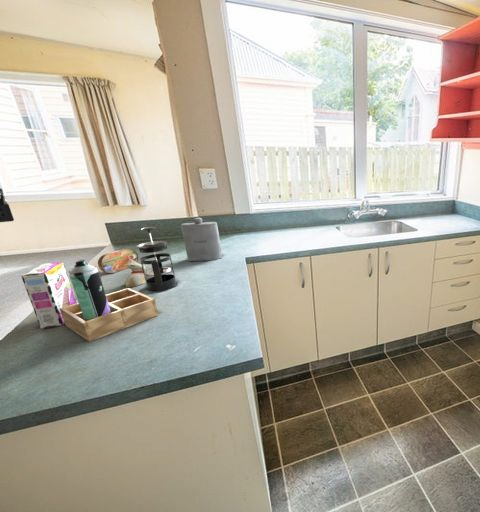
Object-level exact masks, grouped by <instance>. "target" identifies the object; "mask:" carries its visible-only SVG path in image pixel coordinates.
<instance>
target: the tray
mask: <svg viewBox="0 0 480 512" xmlns="http://www.w3.org/2000/svg"><path fill="white" fill-rule="evenodd" d="M106 297H107V301H108V304H109V307H110V310H111V313H109V314H106V315H103V316H100V317H97V318H94V319H91V320H88V321H85V319H84V316H83V313H82V311H81V308H80V305H79V302H76V304H73V305H70V306H66V307H64V308H60V311H61V314H62V317H63V319H64V322H65V323H64V324H65V326H66V327H67V328H68V329H70V330H72V331H73V332H75V334H77V335H79V336H80V337H82V338H83V339H84V340H86V341H87V342H89V343H90V342H94V341H96V340H99V339H101V338H103V337H107V336H109V335H112V334H114V333H116V332H119V331H122V330H124V329H126V328H129V327H132V326H135V325H137V324H139V323H143V322H145V321H147V320H150V319H152V318H156V317H158V316H159V310H158V307H157V304H156V300H155V299H156V298H153V297H152V296H148V295H146V294H144V293H142V292H140V291H137V290H135V289H132V288H131V287H130V288H127V287H126V288H123V289H120V290H117V291H113V292H110V293H107V294H106Z"/></svg>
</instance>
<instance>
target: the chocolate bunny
mask: <svg viewBox="0 0 480 512" xmlns="http://www.w3.org/2000/svg"><path fill="white" fill-rule="evenodd" d="M127 267H128V268H127V269H130V270H131V272H130V275H128V276H127V277H126V280H125V287H126V289H127V288H130V289H131V288H134V287H138V286H141V285H144V284H146V280H145V276H144V273H143V269H142V265H141V263H139V262H135V261H133V260H129V263H128V264H127ZM143 267H144V270H145V272H146V271H147V269H146V267H145V264H143Z"/></svg>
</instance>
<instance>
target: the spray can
mask: <svg viewBox="0 0 480 512" xmlns="http://www.w3.org/2000/svg"><path fill="white" fill-rule="evenodd" d="M97 267H98V266H95V265H91V264H89V263H88V262H86V261H85V259H80V260H77V261H75V265H73V268H72V269H70V270H69V271H68V276H69V280H70V282H71V284H72V288H73V291H74V293H75V297H76V299H77V303H79V305H80V308H81V311H82V313H83V316H84V319H85V321H88V320H91V319H94V318H97V317H100V316H103V315H106V314H109V313H111V310H110V307H109V304H108V301H107V297H106V295H107V294H106V291H105V288H104V285H103V282H102V279H101V276H100V273H99V270H98V268H97Z"/></svg>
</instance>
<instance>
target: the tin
mask: <svg viewBox="0 0 480 512" xmlns="http://www.w3.org/2000/svg"><path fill="white" fill-rule="evenodd" d="M129 260H133V261H135V262H137V263H139V262H138V261H139V255H138V253H137V251H136V250H134V249H132V248H122V249H119V250H114V251H112V252H108V253H105V254H102V255H101V256H100V257H99V258H98V259H97V267H98V268H99V270H100V271H101V272H103V273H106V274H107V273H108V274H115V273H119V272H121V271H125V270H127V269H129V268H128V267H127V264H128V263H129Z"/></svg>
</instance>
